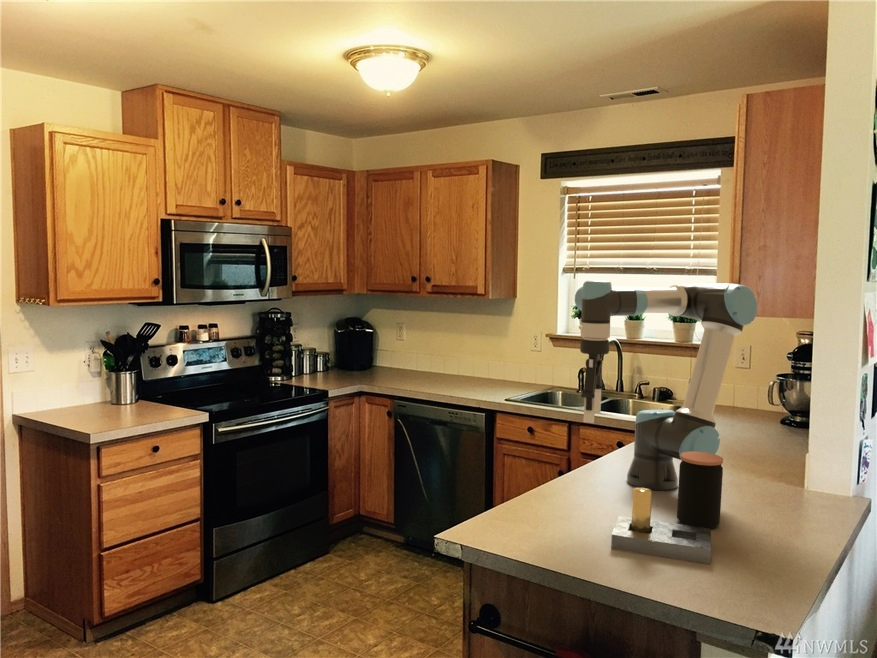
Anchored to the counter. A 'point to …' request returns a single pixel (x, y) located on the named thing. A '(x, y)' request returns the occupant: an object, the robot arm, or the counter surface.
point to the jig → (664, 540)
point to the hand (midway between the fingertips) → (592, 417)
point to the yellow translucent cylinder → (641, 510)
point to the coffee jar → (700, 489)
